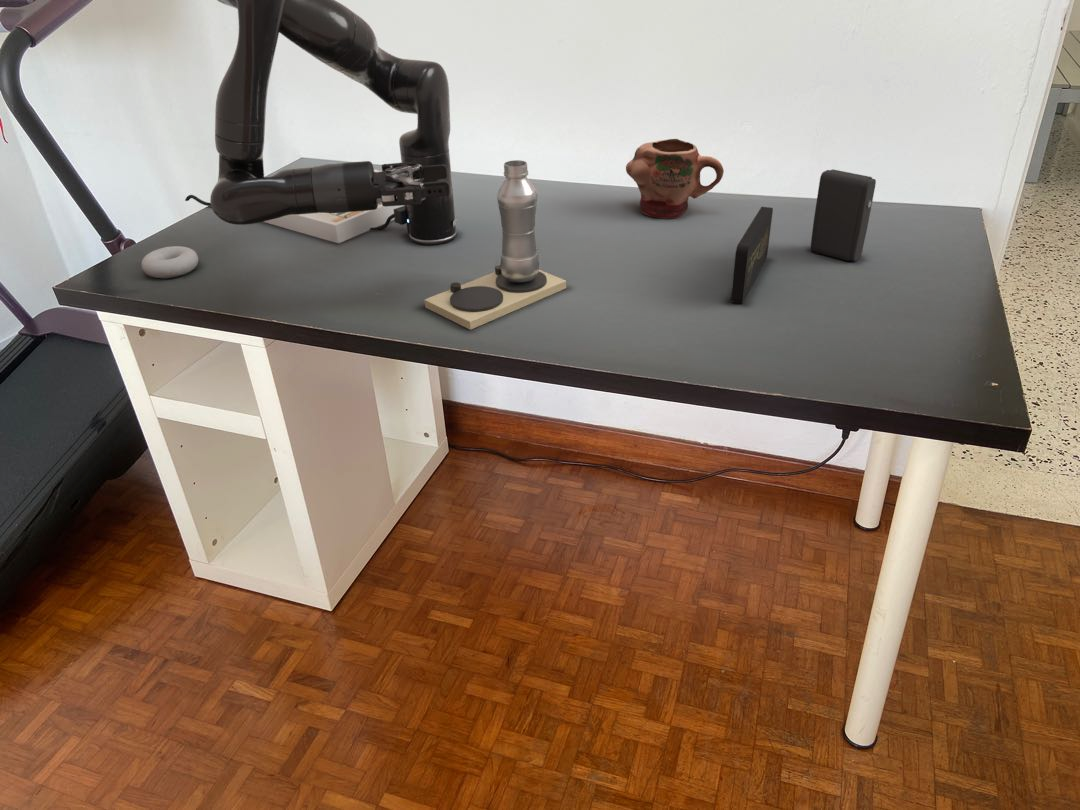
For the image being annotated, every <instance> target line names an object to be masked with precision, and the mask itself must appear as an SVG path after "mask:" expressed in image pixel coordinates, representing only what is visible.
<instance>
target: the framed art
mask: <svg viewBox="0 0 1080 810" xmlns="http://www.w3.org/2000/svg"><path fill="white" fill-rule="evenodd" d="M381 171H382V170H379V169H374V172H381ZM402 206H404V205H402ZM402 206H387V207H385V206H382V199H379V198H378V207H377V209H376V210H368V211H356V212H343V213H319V212H318V213H311V214H298V215H286V216H283V217H280V218H276V219H272V220H268V221H263V222H262V223H266V224H270V225H272V226H275V227H279V228H283V229H287V230H290V231H293V232H297V233H301V234H304V235H307V236H310V237H314V238H318V239H322V240H325V241H328V242H332V243H336V244H342V243H343V242H345V241H347V240H350V239H353V238H356V237H358V236H359V235H362V234H364V233H367V232H370V231H369V230H370V228H375V227H380V226H382V225H384V224H385V222H386V220H387V219H388V217H389V216H391V215H392V214H394V209H396V208H399V207H402ZM392 221H395V218H393V219H392V220H391V221H390V222H392Z"/></svg>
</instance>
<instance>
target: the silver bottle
mask: <svg viewBox="0 0 1080 810" xmlns="http://www.w3.org/2000/svg"><path fill="white" fill-rule="evenodd" d="M503 176H504V177H505V179H504V181H503V182H502V184H501V185H500V188H499V189H498V192H497V196H496V199H497V204H498V210H499V216H500V222H501V228H502V229H501V231H502V232H501V234H502V238H501V239H502V241H501V244H502V245H501V256H500V264H499V265H500V268H501V273H502V275H503V276H504V278H505V279H506V280H508V281H511V282H527V281H530V280H533V279H534V278H535V277H536V275H537V274H538V270H540V259H539V254H538V250H537V242H536V234H535V233H536V228H535V227H536V213H537V204H538V192H537V189H536V187H535V186H534V184H533V183H532V181H530V180H529V178H528V176H529V170H528V162H527V161H526V160H519V159H516V160H514V159H513V160H507V161H505V162H504V163H503Z"/></svg>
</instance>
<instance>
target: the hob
mask: <svg viewBox="0 0 1080 810" xmlns="http://www.w3.org/2000/svg"><path fill="white" fill-rule="evenodd" d="M449 287H450V289H447V290H445V291H443V292H440V293H437V294H435V295H432V296H429V297H427V298H425V299H424V308H425V309H427V310H430V311H431V312H433V313H435V314H436V315H437V314H438V315H440V317H441V316H442V317H443V318H445V319H448V320H449V321H451V322H454V323H455V324H458V325H460V326H461V327H464V328H465V329H468V330H469V331H472V330H473V329H475V328H478V327H480V326H482V325H485V324H487V323H491V322H492V321H494V320H497V319H498V318H501V317H503V316H506V315H508V314H510V313H513V312H515V311H517V310H520V309H523V308H524V307H526V306H529V305H532V304H534V303H536V302H538V301H540V300H543V299H545V298H548V297H549V296H552V295H554V294H557V293H559V292H561V291H563V290H566V289H567V280H566V279H563V278H561V277H559V276H556V275H553V274H550V273H549V272H546V271H543V270H541V269H539V270H538V274H537V275H536V277H535V278H534V279H533V280H530V281H527V282H511V281H508V280H506V279H505V278H504V276H503V275H502V273H501V268H500V264H498V265H495V267H494V271H493V272H490V273H489V274H486V275H483V276H481V277H478V278H475V279H473V280H471V281H467V282H466V283H463V284H462V283H461V282H455V281H454V282H451V283H450V285H449Z"/></svg>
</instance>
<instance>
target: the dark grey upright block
mask: <svg viewBox="0 0 1080 810" xmlns="http://www.w3.org/2000/svg"><path fill="white" fill-rule="evenodd" d="M876 183H877V180H876V178H873V177H872V176H868V175H864V174H858V173H853V172H848V171H844V170H837V169H833V168H832V169H827V170H824V171H822V172H821V175H820V176H819V183H818V189H817V197H816V203H815V210H814V215H813V223H812V232H811V239H810V240H811V241H810V250H811V251H813V252H814V253H817V254H820V255H824V256H827V257H832V258H836V259H839V260H843V261H846V262H856V261H857V260H859V259H860V258H861V256H862V254H863V250H864V244H865V241H866V235H867V231H868V226H869V222H870V221H869V220H870V217H871V212H872V205H873V200H874V196H875V195H874V194H875V191H876V190H875V189H876Z"/></svg>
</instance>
